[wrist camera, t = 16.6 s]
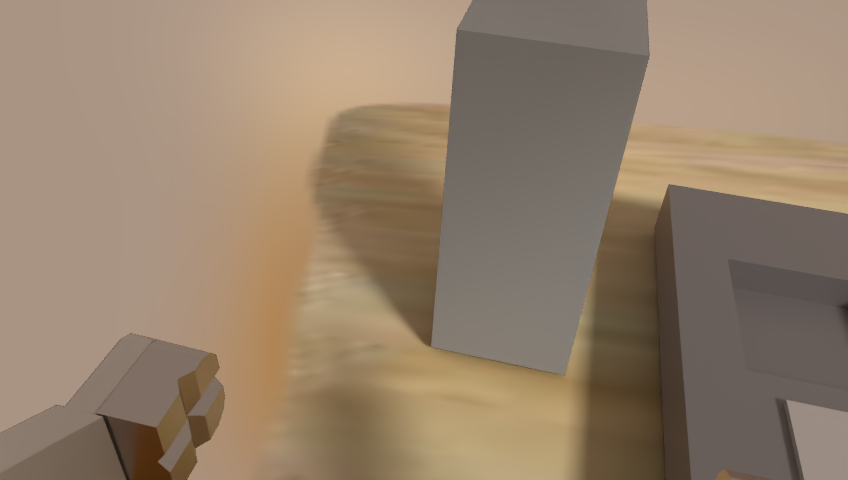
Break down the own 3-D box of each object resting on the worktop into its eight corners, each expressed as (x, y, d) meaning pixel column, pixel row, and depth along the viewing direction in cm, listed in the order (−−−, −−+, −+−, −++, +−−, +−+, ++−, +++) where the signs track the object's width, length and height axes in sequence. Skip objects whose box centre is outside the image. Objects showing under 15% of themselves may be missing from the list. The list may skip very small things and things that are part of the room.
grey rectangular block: (573, 286, 26) (646, -7, 19) (564, 375, 23) (649, 55, 16) (457, 264, 27) (487, -26, 20) (431, 346, 23) (456, 29, 16)
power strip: (882, 267, 28) (916, 211, 26) (1274, 1138, 11) (1447, 1144, 9) (654, 227, 29) (672, 171, 27) (685, 944, 12) (737, 916, 10)
